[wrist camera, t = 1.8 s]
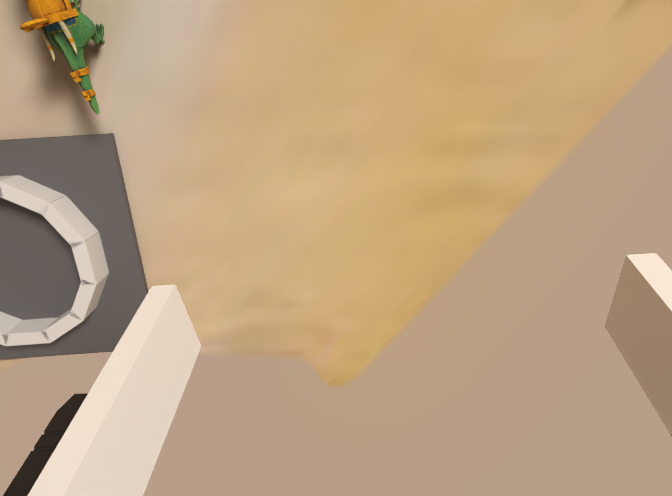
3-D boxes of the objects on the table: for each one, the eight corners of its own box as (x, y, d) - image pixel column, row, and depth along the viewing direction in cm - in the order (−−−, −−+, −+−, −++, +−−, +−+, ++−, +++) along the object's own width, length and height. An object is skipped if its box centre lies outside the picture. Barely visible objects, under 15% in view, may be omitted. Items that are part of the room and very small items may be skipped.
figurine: (68, -65, 32) (-10, -110, 25) (142, 104, 36) (96, 110, 29) (28, -50, 32) (-61, -91, 25) (107, 116, 36) (51, 125, 29)
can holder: (-50, 359, 43) (-76, 379, 40) (-137, 148, 36) (-176, 154, 34) (160, 344, 44) (149, 363, 41) (113, 133, 37) (96, 137, 34)
